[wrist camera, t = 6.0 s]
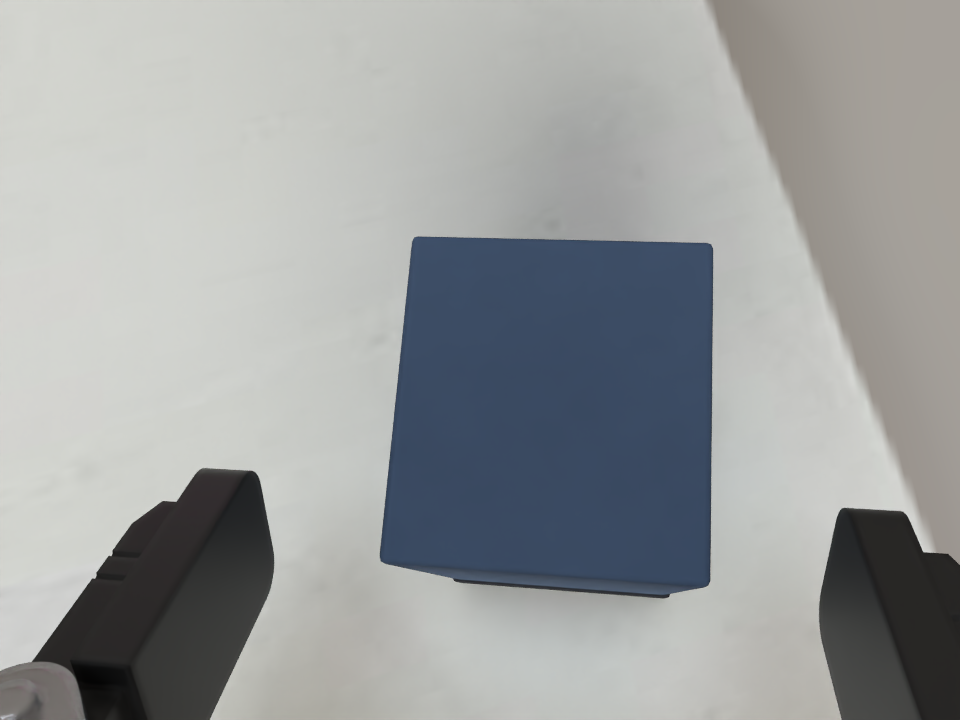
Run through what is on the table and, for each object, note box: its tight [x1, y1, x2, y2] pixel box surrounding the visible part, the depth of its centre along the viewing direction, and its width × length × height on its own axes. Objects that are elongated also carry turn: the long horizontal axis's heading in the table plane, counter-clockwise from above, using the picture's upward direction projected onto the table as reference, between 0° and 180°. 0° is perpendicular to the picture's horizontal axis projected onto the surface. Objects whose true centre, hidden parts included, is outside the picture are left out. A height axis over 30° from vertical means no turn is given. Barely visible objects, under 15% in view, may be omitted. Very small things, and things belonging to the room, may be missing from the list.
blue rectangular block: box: [380, 237, 713, 598], centre depth 16 cm, size 4×5×8 cm
